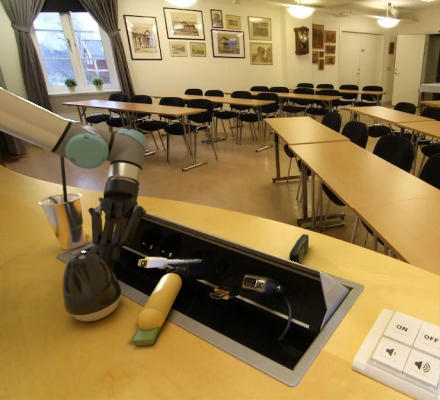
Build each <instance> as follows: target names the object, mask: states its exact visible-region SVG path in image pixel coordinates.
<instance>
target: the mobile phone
mask: <svg viewBox="0 0 440 400" xmlns="http://www.w3.org/2000/svg"><path fill="white" fill-rule="evenodd" d="M309 238H310V237H309V234H305V233H303V234H301V235H300V237H299V238H298V239H297V240H296V242H295V243H294V245H293V247H292V248H291V250H290V252H289V257H288V258H289V259H288V261H289V260H291V261H294V262H297V263H300V264H301V263H302V261H303V260H304V259H303V258H304V257H305V256H306V254H307V253H308V250H309V245H310V243H309V242H310V241H309V240H310V239H309Z"/></svg>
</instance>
